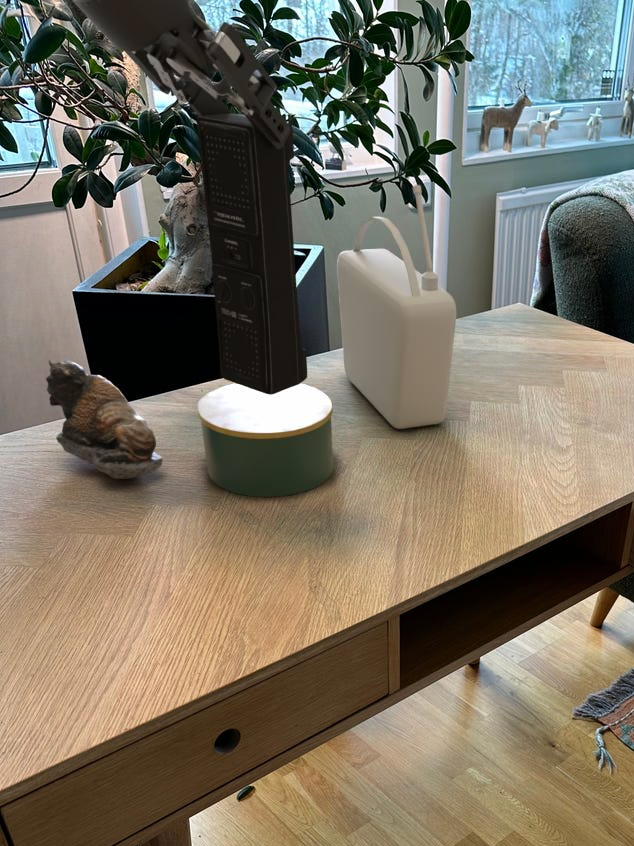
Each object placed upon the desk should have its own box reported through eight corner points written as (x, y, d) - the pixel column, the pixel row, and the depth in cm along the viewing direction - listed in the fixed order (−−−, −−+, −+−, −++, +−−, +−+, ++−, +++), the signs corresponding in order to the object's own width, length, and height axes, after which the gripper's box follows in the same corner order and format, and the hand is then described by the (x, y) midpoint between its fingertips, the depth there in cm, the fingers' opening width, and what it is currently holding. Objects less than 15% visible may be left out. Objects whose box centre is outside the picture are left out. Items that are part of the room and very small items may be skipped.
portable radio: (210, 378, 87) (170, 81, 72) (254, 362, 91) (226, 78, 76) (266, 398, 84) (238, 91, 69) (310, 381, 88) (292, 88, 73)
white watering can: (465, 430, 104) (478, 199, 89) (400, 440, 101) (401, 201, 85) (395, 365, 119) (396, 158, 104) (337, 372, 116) (329, 159, 101)
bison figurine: (178, 471, 92) (163, 377, 86) (125, 497, 87) (105, 399, 81) (98, 440, 96) (78, 348, 90) (43, 463, 91) (18, 368, 85)
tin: (179, 465, 93) (169, 402, 88) (280, 430, 101) (275, 370, 97) (260, 511, 86) (253, 445, 82) (361, 469, 94) (359, 407, 90)
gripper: (191, -91, 58) (332, 107, 72) (74, -96, 65) (224, 85, 79) (133, 7, 58) (285, 185, 72) (22, -9, 65) (181, 156, 79)
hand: (253, 132), depth 76 cm, fingers closed on portable radio, 7 cm apart
